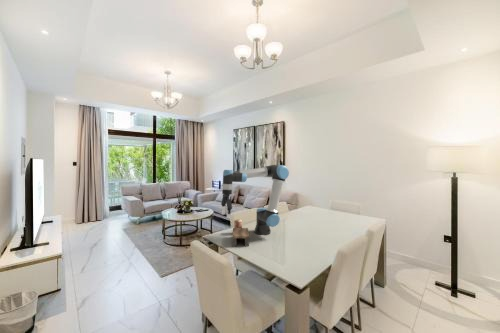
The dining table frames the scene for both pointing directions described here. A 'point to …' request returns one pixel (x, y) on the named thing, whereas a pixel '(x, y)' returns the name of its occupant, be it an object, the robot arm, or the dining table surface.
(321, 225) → the dining table surface
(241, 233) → the bridge shelf
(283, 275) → the dining table surface
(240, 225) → the cord reel
